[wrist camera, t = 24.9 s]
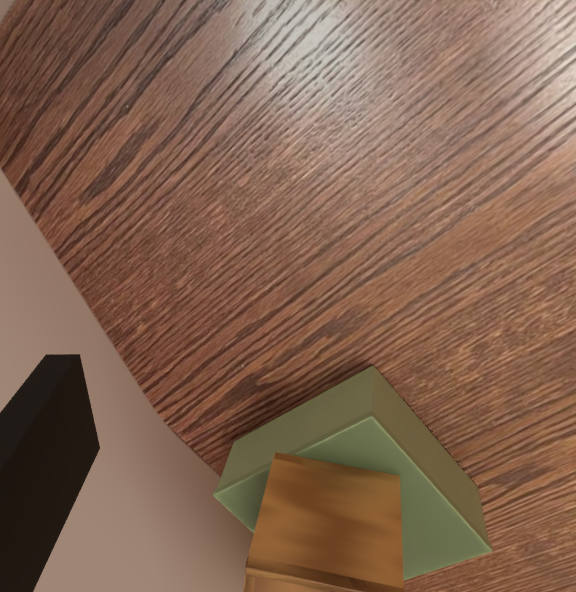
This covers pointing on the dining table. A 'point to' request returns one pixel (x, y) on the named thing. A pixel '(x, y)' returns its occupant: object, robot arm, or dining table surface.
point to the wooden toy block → (326, 530)
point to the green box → (369, 467)
